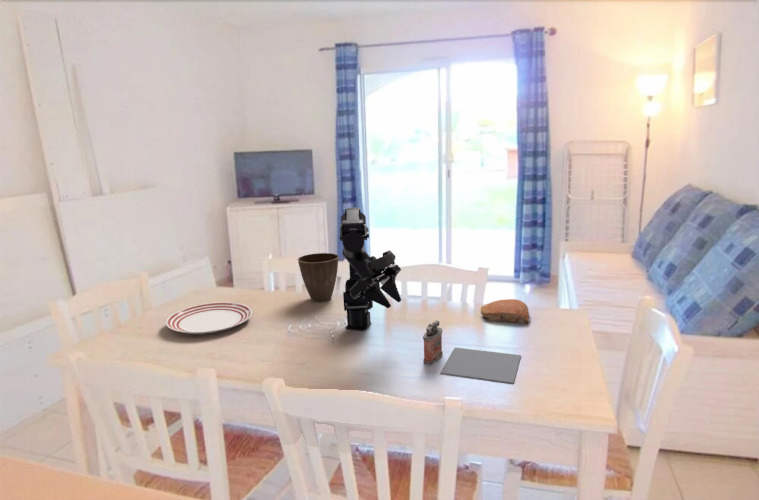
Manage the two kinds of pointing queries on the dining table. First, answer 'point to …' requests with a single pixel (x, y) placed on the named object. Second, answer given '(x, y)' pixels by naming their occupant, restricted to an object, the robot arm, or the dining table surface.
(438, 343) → the lighter
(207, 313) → the dinner plate
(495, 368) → the mat
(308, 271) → the plant pot
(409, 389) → the dining table surface
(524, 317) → the brown rounded lump
